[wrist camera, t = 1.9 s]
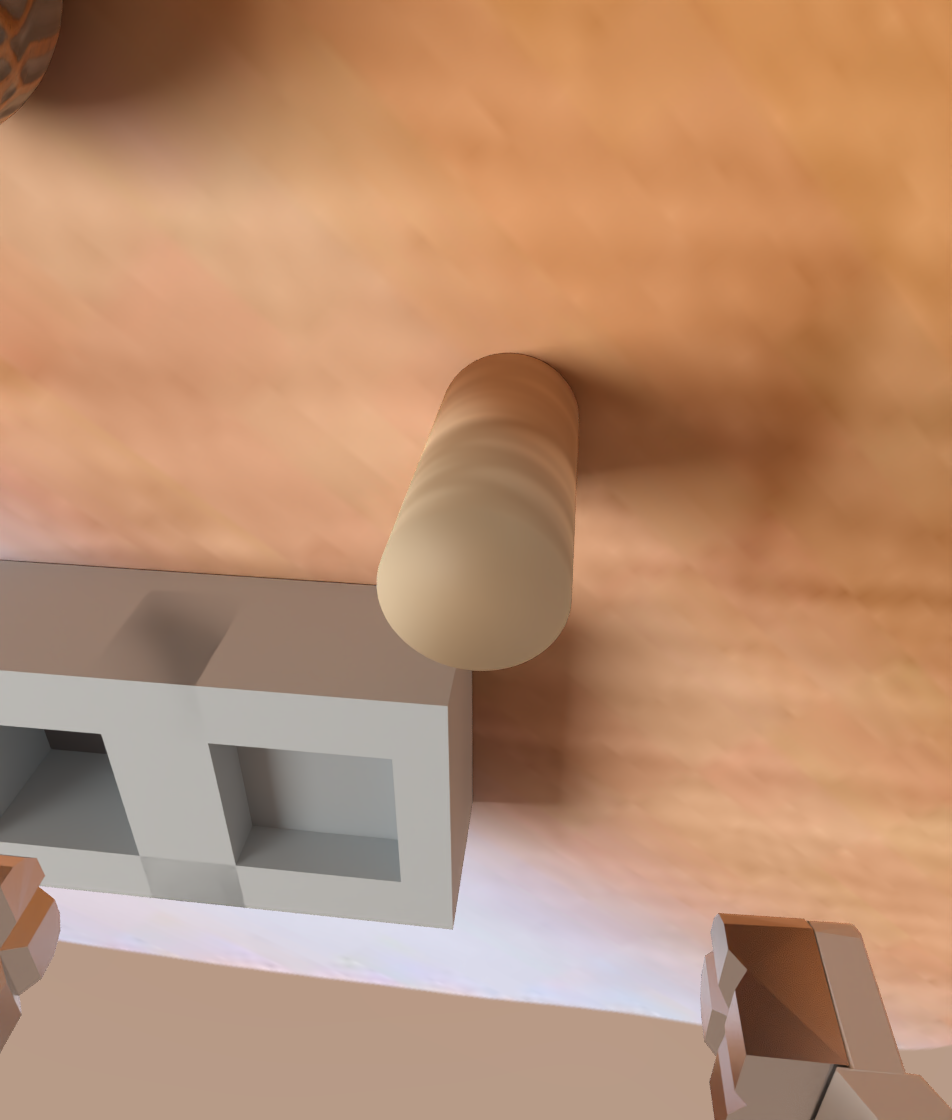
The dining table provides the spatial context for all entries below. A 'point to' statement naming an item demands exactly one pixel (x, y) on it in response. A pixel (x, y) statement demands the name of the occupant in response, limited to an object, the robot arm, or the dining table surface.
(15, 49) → the vase
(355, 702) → the bore block
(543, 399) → the dowel
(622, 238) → the dining table surface
